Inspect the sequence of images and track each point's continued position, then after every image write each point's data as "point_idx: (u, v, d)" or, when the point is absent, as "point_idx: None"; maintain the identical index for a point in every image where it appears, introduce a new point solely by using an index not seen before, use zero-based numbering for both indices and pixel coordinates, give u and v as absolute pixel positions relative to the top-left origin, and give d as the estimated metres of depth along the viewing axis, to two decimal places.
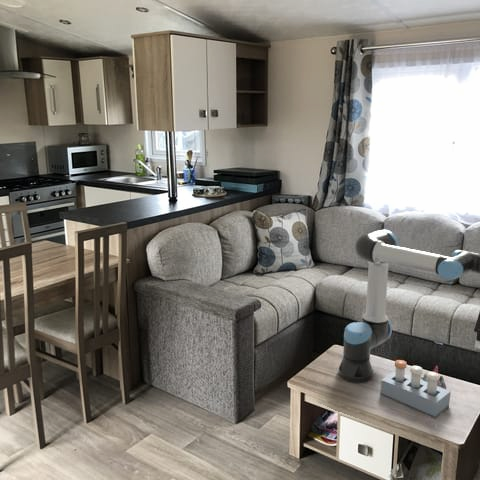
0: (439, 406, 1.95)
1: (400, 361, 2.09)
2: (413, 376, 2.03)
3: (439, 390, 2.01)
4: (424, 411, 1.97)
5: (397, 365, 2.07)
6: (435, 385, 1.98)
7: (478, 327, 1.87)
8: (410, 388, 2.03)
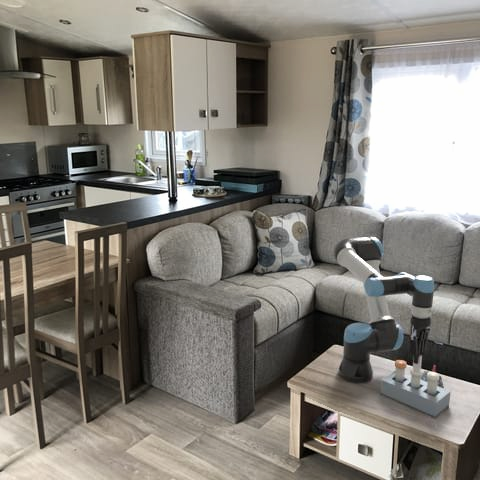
0: (439, 406, 1.95)
1: (400, 361, 2.09)
2: (413, 378, 2.03)
3: (439, 390, 2.01)
4: (424, 411, 1.97)
5: (397, 365, 2.07)
6: (435, 385, 1.98)
7: (413, 352, 1.99)
8: (410, 388, 2.03)
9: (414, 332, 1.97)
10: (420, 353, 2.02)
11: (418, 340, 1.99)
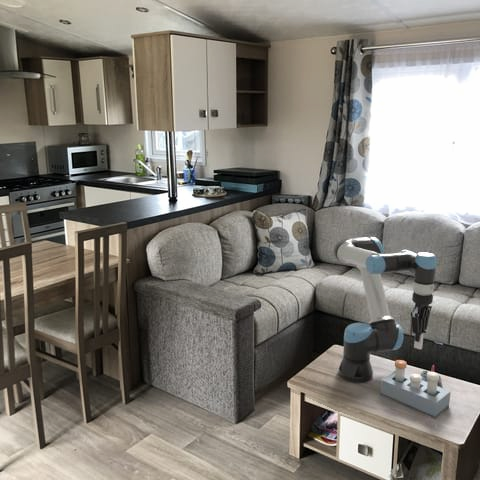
0: (439, 406, 1.95)
1: (400, 361, 2.09)
2: (412, 384, 2.04)
3: (439, 390, 2.01)
4: (424, 411, 1.97)
5: (397, 365, 2.07)
6: (435, 385, 1.98)
7: (414, 330, 1.97)
8: (410, 388, 2.03)
9: (416, 309, 1.95)
10: None
11: (420, 318, 1.97)
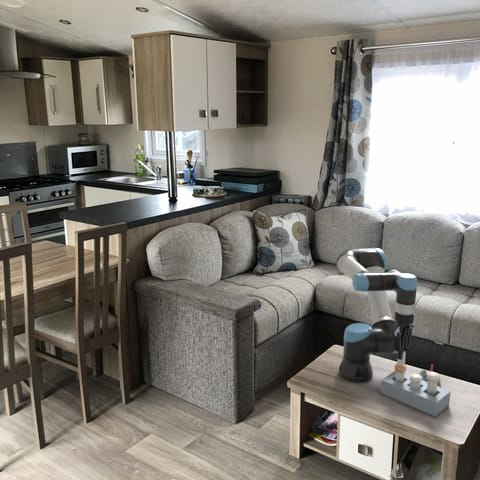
0: (439, 406, 1.95)
1: None
2: (412, 384, 2.04)
3: (439, 390, 2.01)
4: (424, 411, 1.97)
5: (397, 368, 2.08)
6: (435, 385, 1.98)
7: (397, 348, 2.04)
8: (410, 388, 2.03)
9: (398, 328, 2.02)
10: (404, 349, 2.07)
11: (402, 336, 2.04)
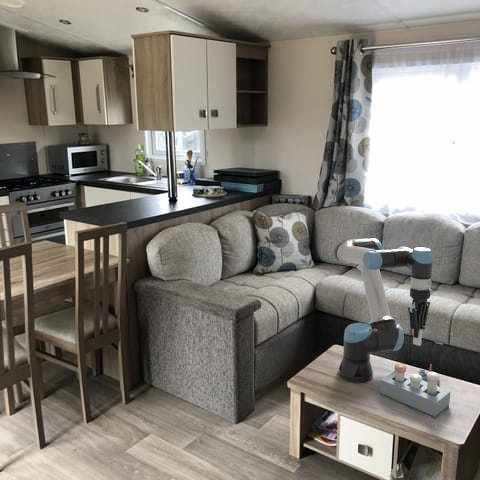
0: (439, 406, 1.95)
1: (400, 365, 2.10)
2: (412, 384, 2.04)
3: (439, 390, 2.01)
4: (424, 411, 1.97)
5: (397, 369, 2.08)
6: (435, 385, 1.98)
7: (412, 325, 1.96)
8: (410, 388, 2.03)
9: (413, 304, 1.94)
10: (420, 327, 1.99)
11: (417, 313, 1.96)
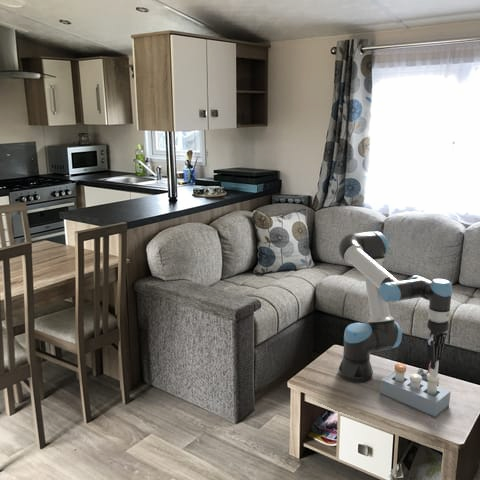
0: (439, 406, 1.95)
1: (400, 365, 2.10)
2: (412, 384, 2.04)
3: (439, 390, 2.01)
4: (424, 411, 1.97)
5: (397, 369, 2.08)
6: (435, 386, 1.98)
7: (430, 357, 1.94)
8: (410, 388, 2.03)
9: (431, 337, 1.92)
10: (437, 358, 1.97)
11: (435, 345, 1.94)
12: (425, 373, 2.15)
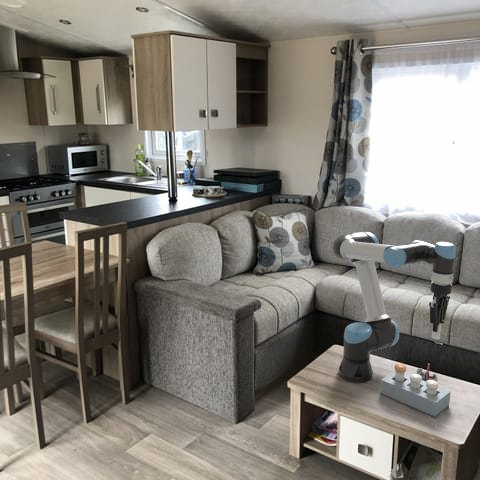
0: (439, 406, 1.95)
1: (400, 365, 2.10)
2: (412, 384, 2.04)
3: (439, 390, 2.01)
4: (424, 411, 1.97)
5: (397, 369, 2.08)
6: (434, 393, 1.99)
7: (432, 320, 1.96)
8: (410, 388, 2.03)
9: (434, 299, 1.93)
10: None
11: (438, 308, 1.95)
12: (424, 373, 2.16)
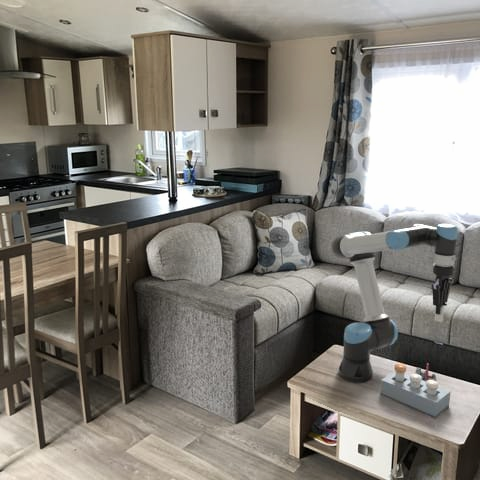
0: (439, 406, 1.95)
1: (400, 365, 2.10)
2: (412, 384, 2.04)
3: (439, 390, 2.01)
4: (424, 411, 1.97)
5: (397, 369, 2.08)
6: (434, 393, 1.99)
7: (435, 302, 1.96)
8: (410, 388, 2.03)
9: (437, 281, 1.94)
10: (442, 304, 1.99)
11: (440, 290, 1.96)
12: (423, 372, 2.16)
